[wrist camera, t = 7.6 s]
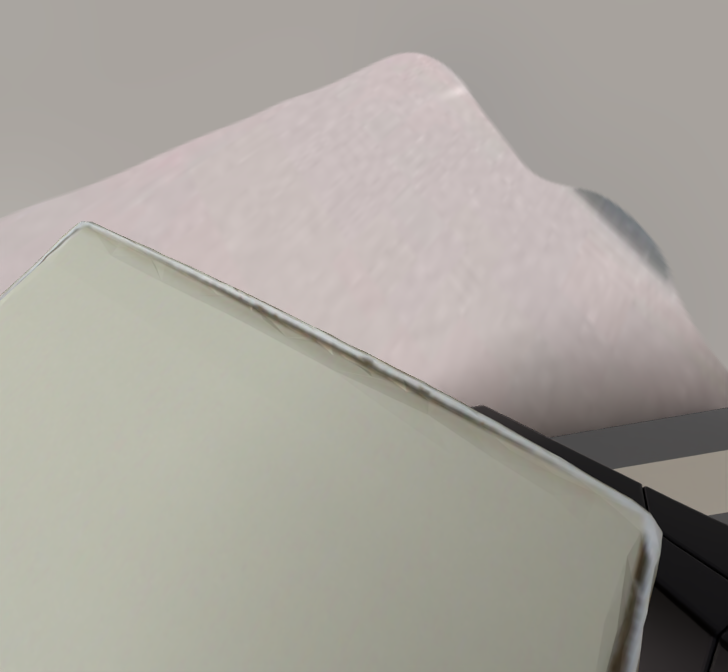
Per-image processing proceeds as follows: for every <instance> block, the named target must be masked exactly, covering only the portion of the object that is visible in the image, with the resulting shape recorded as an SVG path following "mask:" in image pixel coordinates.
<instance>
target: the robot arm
mask: <svg viewBox="0 0 728 672" xmlns="http://www.w3.org/2000/svg"><path fill="white" fill-rule="evenodd" d="M471 408H472V409H474V410H476V411H477V412H479V413H481V414H483V415H485V416H487V417H489V418H491V419H493V420H495V421H497V422H499V423H500V424H502V425H504V426H505V427H507V428H509V429H510V430H512V431H514V432H516V433H517V434H519V435H521V436H522V437H524V438H526V439H528V440H530V441H531V442H533V443H535V444H537V445H539V446H540V447H542V448H544V449H546V450H548V451H549V452H551V453H553V454H555V455H557V456H559V457H561V458H563V459H564V460H566V461H567V462H569V463H571V464H572V465H574V466H575V467H577V468H579V469H580V470H582V471H583V472H585V473H587V474H588V475H590V476H592V477H593V478H595V479H597V480H599V481H600V482H602V483H604V484H606V485H608V486H609V487H611V488H613V489H615V490H616V491H618V492H620V493H622V494H624V495H625V496H627V497H629V498H631V499H632V500H634V501H635V502H636V503H638V504H639V505H640V506H642V507H643V508H644V509H645V510H647V511H648V512H649V513H651V515H652V516H653V518H654V519H655V521H656V523H657V524H658V526H659V527H660V529H661V530H662V533H663V534H662V543H661V553H660V559H659V564H658V569H657V574H656V578H655V582H654V586H653V590H652V594H651V598H650V602H649V606H648V612H647V616H646V619H645V623H644V626H643V635H642V644H641V652H640V661H639V670H638V672H728V525H727V524H725V523H723V522H721V521H718V520H716V519H714V518H712V517H710V516H707V515H705V514H703V513H701V512H699V511H697V510H695V509H693V508H691V507H689V506H686V505H684V504H682V503H680V502H678V501H676V500H674V499H672V498H670V497H668V496H666V495H664V494H662V493H660V492H658V491H656V490H654V489H652V488H650V487H647V486H644V487H642V484H641V483H639V482H637V481H635V480H633V479H631V478H629V477H627V476H625V475H623V474H621V473H619V472H617V471H615V470H613V469H611V468H609V467H607V466H605V465H603V464H601V463H599V462H597V461H595V460H593V459H591V458H589V457H587V456H585V455H583V454H581V453H579V452H577V451H575V450H573V449H571V448H569V447H567V446H565V445H563V444H561V443H559V442H557V441H555V440H553V439H551V438H549V437H547V436H545V435H543V434H541V433H539V432H536V431H534V430H532V429H530V428H528V427H526V426H524V425H522V424H520V423H518V422H516V421H514V420H512V419H510V418H508V417H506V416H504V415H502V414H500V413H498V412H496V411H494V410H492V409H490V408H488V407H486V406H483V405H481V406H475V407H471Z"/></svg>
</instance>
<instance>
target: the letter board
mask: <svg viewBox="0 0 728 672" xmlns="http://www.w3.org/2000/svg"><path fill="white" fill-rule="evenodd" d="M551 439H553V440H555V441H557V442H559V443H561V444H563V445H565V446H567V447H569V448H571V449H573V450H575V451H577V452H579V453H581V454H583V455H585V456H587V457H589V458H591V459H593V460H595V461H597V462H599V463H601V464H603V465H605V466H607V467H609V468H611V469H613V470H615V471H617V472H619V473H621V474H623V475H625V476H627V477H629V478H631V479H633V480H635V481H637V482H639V483H641V484H642V487H644V486H647V487H650V488H652V489H654V490H656V491H658V492H660V493H662V494H664V495H666V496H668V497H670V498H672V499H674V500H676V501H678V502H680V503H682V504H684V505H686V506H689V507H691V508H693V509H695V510H697V511H699V512H701V513H703V514H705V515H707V516H710V517H712V518H714V519H716V520H718V521H721V522H723V523H725V524H727V525H728V408H723V409H717V410H711V411H705V412H699V413H693V414H687V415H681V416H675V417H669V418H663V419H658V420H652V421H646V422H640V423H634V424H628V425H622V426H616V427H610V428H604V429H598V430H592V431H586V432H580V433H574V434H569V435H563V436H557V437H551Z"/></svg>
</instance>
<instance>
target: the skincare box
mask: <svg viewBox="0 0 728 672" xmlns="http://www.w3.org/2000/svg"><path fill="white" fill-rule="evenodd" d="M662 534H663V533H662V530H661V529H660V527H659V526H658V524H657V523H656V521H655V519H654V518H653V516H652V515H651V513H649V512H648V511H647V510H645V509H644V508H643V507H642V506H640V505H639V504H638V503H636V502H635V501H634V500H632V499H631V498H629V497H627V496H625V495H624V494H622V493H620V492H618V491H616V490H615V489H613V488H611V487H609V486H608V485H606V484H604V483H602V482H600V481H599V480H597V479H595V478H593V477H592V476H590V475H588V474H587V473H585V472H583V471H582V470H580V469H579V468H577V467H575V466H574V465H572V464H571V463H569V462H567V461H566V460H564V459H563V458H561V457H559V456H557V455H555V454H553V453H551V452H549V451H548V450H546V449H544V448H542V447H540V446H539V445H537V444H535V443H533V442H531V441H530V440H528V439H526V438H524V437H522V436H521V435H519V434H517V433H516V432H514V431H512V430H510V429H509V428H507V427H505V426H504V425H502V424H500V423H499V422H497V421H495V420H493V419H491V418H489V417H487V416H485V415H483V414H481V413H479V412H477V411H476V410H474V409H472V408H471V407H469V406H467V405H465V404H464V403H462V402H460V401H458V400H456V399H454V398H452V397H451V396H449V395H447V394H445V393H443V392H441V391H439V390H437V389H435V388H433V387H431V386H430V385H428V384H427V383H425V382H423V381H421V380H419V379H417V378H415V377H413V376H411V375H409V374H407V373H405V372H403V371H401V370H399V369H397V368H395V367H393V366H391V365H389V364H387V363H385V362H383V361H381V360H380V359H378V358H376V357H374V356H372V355H370V354H368V353H366V352H364V351H362V350H360V349H357V348H355V347H353V346H350V345H349V344H347V343H345V342H343V341H341V340H339V339H338V338H336V337H334V336H332V335H330V334H329V333H326V332H324V331H322V330H320V329H317V328H315V327H313V326H311V325H309V324H307V323H305V322H303V321H301V320H299V319H297V318H295V317H293V316H291V315H289V314H287V313H285V312H283V311H281V310H279V309H277V308H275V307H273V306H271V305H269V304H267V303H265V302H263V301H261V300H259V299H257V298H255V297H253V296H251V295H249V294H247V293H245V292H243V291H241V290H239V289H236V288H234V287H232V286H230V285H228V284H226V283H223V282H221V281H219V280H217V279H215V278H213V277H211V276H209V275H207V274H205V273H203V272H201V271H199V270H197V269H194V268H192V267H190V266H188V265H186V264H183V263H181V262H179V261H177V260H174V259H172V258H170V257H167V256H165V255H163V254H161V253H159V252H157V251H155V250H154V249H151V248H149V247H147V246H144V245H142V244H139V243H137V242H135V241H132V240H130V239H128V238H126V237H124V236H121V235H119V234H117V233H115V232H113V231H110V230H108V229H106V228H104V227H102V226H100V225H98V224H95V223H93V222H85V221H82V222H80V223H78V224H76V225H75V226H74V227H73V228H72V229H71V230H69V231H68V232H67V233H66V234H65V235H63V236H62V237H61V238H60V239H59V240H58V241H57V242H56V243H55V245H54V246H53V247H52V248H51V249H50V250H49V251H48V252H47V253H46V254H45V255H44V256H43V257H41V258H40V259H39V260H38V261H37V262H36V263H35V264H34V265H33V266H32V267H31V268H30V269H29V270H28V271H27V272H25V273H24V274H23V275H22V276H21V277H20V278H19V279H18V280H17V281H16V282H14V283H13V284H12V285H11V286H10V287H9V288H8V289H7V290H5V291H4V292H3V293H2V294H1V295H0V672H638V670H639V661H640V652H641V644H642V635H643V626H644V623H645V619H646V616H647V612H648V606H649V602H650V598H651V594H652V590H653V586H654V582H655V578H656V574H657V569H658V564H659V559H660V553H661V543H662Z"/></svg>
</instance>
